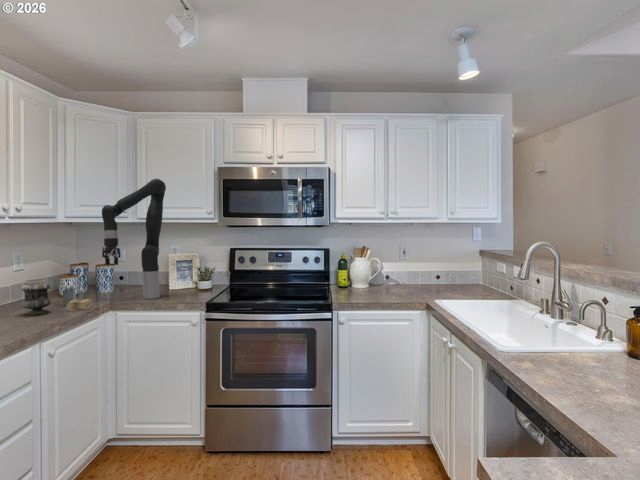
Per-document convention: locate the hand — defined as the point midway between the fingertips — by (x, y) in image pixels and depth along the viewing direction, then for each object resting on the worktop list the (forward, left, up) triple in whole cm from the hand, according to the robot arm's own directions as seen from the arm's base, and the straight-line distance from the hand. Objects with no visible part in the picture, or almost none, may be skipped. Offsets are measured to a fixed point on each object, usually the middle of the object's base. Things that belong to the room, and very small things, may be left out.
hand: (112, 264), depth 220 cm
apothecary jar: (+33, +18, -22) cm, 44 cm away
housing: (+22, +2, -22) cm, 31 cm away
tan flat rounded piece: (+15, +13, -22) cm, 30 cm away
